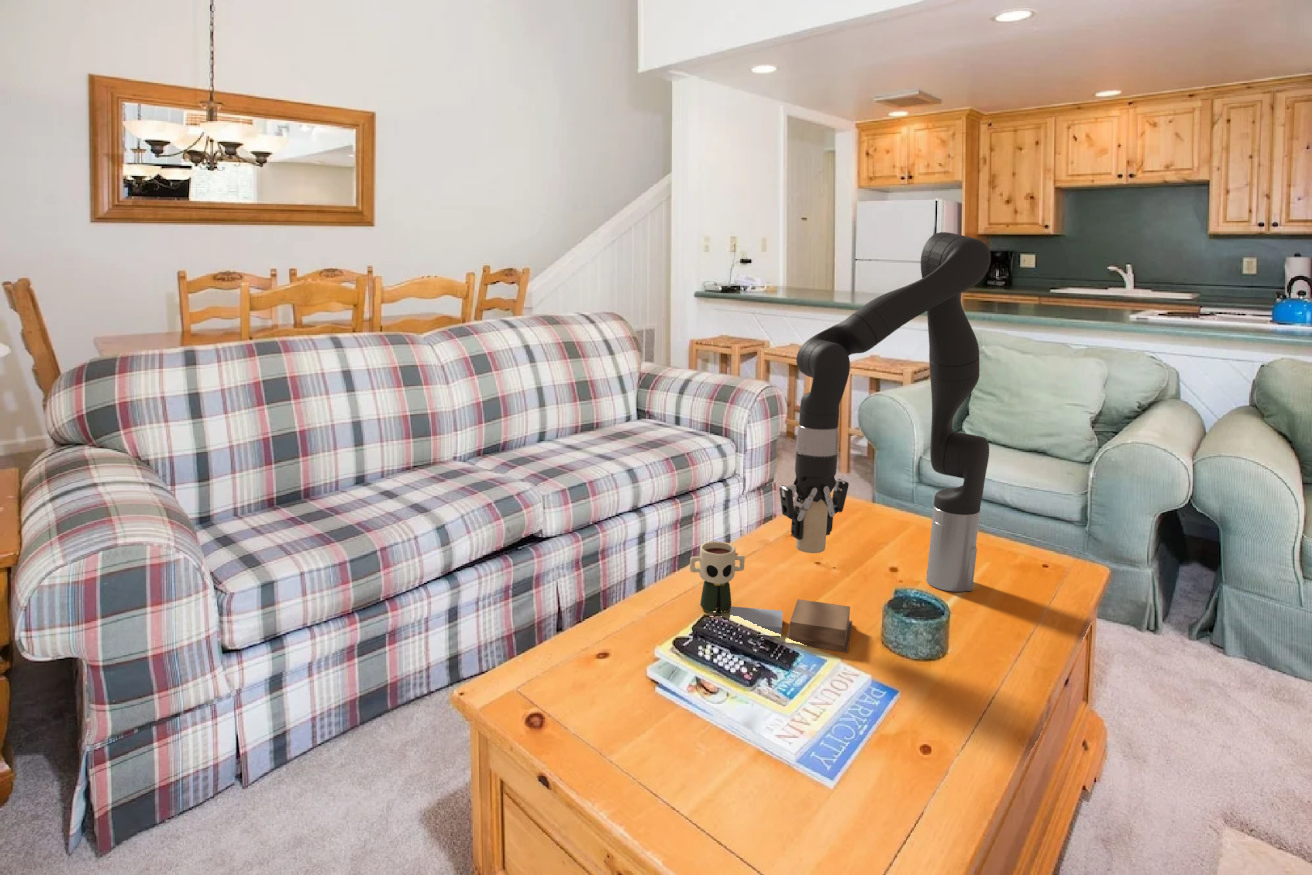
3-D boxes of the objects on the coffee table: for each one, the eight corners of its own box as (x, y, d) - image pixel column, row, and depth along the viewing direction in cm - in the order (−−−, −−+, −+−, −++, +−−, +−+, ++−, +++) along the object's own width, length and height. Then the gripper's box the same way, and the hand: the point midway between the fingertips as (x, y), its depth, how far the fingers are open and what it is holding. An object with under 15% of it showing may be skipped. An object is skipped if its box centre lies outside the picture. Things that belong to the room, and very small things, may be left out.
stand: (852, 624, 155) (853, 605, 154) (847, 652, 145) (848, 632, 144) (793, 616, 158) (794, 597, 157) (785, 642, 148) (786, 622, 147)
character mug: (691, 617, 157) (693, 555, 154) (686, 601, 164) (687, 541, 161) (746, 615, 159) (748, 553, 155) (738, 599, 165) (741, 540, 162)
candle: (828, 546, 154) (832, 496, 151) (820, 555, 149) (823, 504, 146) (801, 540, 156) (804, 491, 154) (791, 550, 151) (794, 499, 149)
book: (782, 620, 157) (782, 610, 156) (781, 637, 150) (781, 627, 150) (730, 615, 158) (731, 606, 158) (727, 632, 152) (728, 622, 151)
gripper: (837, 441, 154) (831, 525, 158) (772, 447, 148) (767, 534, 152) (861, 451, 147) (854, 538, 151) (794, 457, 142) (789, 548, 146)
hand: (811, 535), depth 152 cm, fingers closed on candle, 5 cm apart
